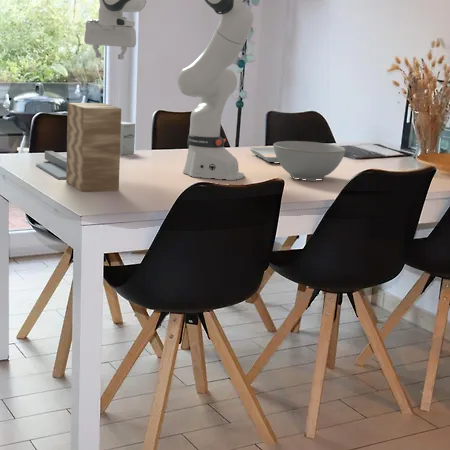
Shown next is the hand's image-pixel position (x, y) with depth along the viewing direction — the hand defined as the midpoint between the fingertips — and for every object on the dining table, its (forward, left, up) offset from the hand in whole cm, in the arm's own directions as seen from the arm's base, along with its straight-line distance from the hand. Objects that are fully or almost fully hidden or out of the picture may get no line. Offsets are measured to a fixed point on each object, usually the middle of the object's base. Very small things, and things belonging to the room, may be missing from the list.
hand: (109, 58), depth 296 cm
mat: (0, +29, -39) cm, 49 cm away
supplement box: (+5, -22, -39) cm, 45 cm away
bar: (+5, +24, -38) cm, 45 cm away
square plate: (-56, -56, -40) cm, 89 cm away
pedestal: (-20, +46, -39) cm, 64 cm away
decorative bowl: (-75, -18, -39) cm, 87 cm away
